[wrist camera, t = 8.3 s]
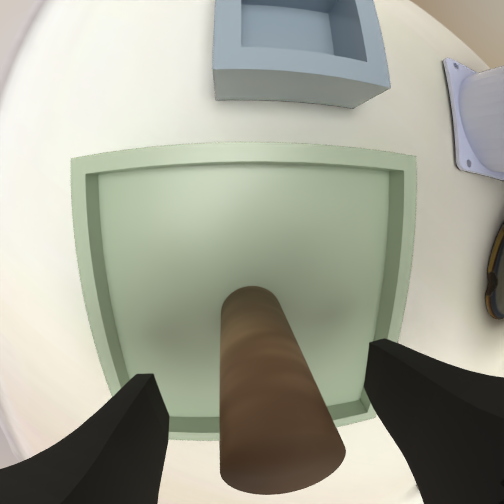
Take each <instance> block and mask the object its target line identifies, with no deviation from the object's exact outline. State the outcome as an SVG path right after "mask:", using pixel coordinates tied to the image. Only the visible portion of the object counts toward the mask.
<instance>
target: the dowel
mask: <svg viewBox="0 0 504 504" xmlns="http://www.w3.org/2000/svg"><path fill="white" fill-rule="evenodd" d="M219 429H220V474H221V477H222V479H223V480H224V481H225V482H226V483H227V484H228V485H229V486H231V487H233V488H235V489H237V490H240V491H243V492H247V493H252V494H262V495H272V494H283V493H288V492H293V491H297V490H301V489H304V488H307V487H309V486H311V485H314V484H316V483H318V482H320V481H322V480H323V479H325V478H326V477H328V476H329V475H331V474H332V473H333V472H334V471H335V470H336V469H337V468H338V467H339V466H340V465H341V463H342V462H343V460H344V457H345V453H346V450H345V446H344V444H343V441H342V439H341V437H340V435H339V433H338V430H337V428H336V426H335V424H334V422H333V419H332V417H331V415H330V413H329V411H328V408H327V406H326V404H325V402H324V399H323V397H322V395H321V393H320V391H319V388H318V386H317V384H316V382H315V380H314V377H313V375H312V373H311V371H310V369H309V366H308V364H307V362H306V360H305V358H304V356H303V353H302V351H301V349H300V347H299V345H298V342H297V340H296V338H295V336H294V334H293V331H292V329H291V327H290V325H289V323H288V320H287V318H286V316H285V314H284V312H283V310H282V307H281V305H280V303H279V301H278V299H277V298H276V296H275V295H274V294H273V293H272V292H270V291H269V290H267V289H265V288H262V287H258V286H246V287H242V288H239V289H237V290H235V291H234V292H232V293H231V294H230V295H229V296H228V297H227V298H226V300H225V301H224V303H223V305H222V309H221V327H220V392H219Z"/></svg>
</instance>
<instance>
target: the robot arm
mask: <svg viewBox="0 0 504 504" xmlns="http://www.w3.org/2000/svg"><path fill="white" fill-rule="evenodd" d="M443 62H444V67H445V72H446V77H447V82H448V88H449V93H450V100H451V107H452V114H453V123H454V133H455V147H456V163H457V166H458V168H459V169H460V170H464V171H468V172H472V173H476V174H480V175H484V176H488V177H492V178H496V179H499V180H503V181H504V66H501V67H497V68H494V69H490V70H487V71H484V72H480V73H477V72H475V71H473V70H471V69H470V68H468V67H466V66H464V65H462V64H460V63H458V62H456V61H454V60H452V59H450V58H446V59H444V61H443ZM364 389H365V391H366V394H367V396H368V398H369V400H370V402H371V404H372V407H373V409H374V410H375V412H376V413H377V415H378V417H379V418H380V420H381V421H382V423H383V424H384V426H385V427H386V429H387V430H388V432H389V433H390V435H391V437H392V438H393V440H394V441H395V443H396V444H397V446H398V447H399V449H400V450H401V452H402V454H403V455H404V457H405V459H406V461H407V463H408V465H409V467H410V470H411V472H412V474H413V476H414V478H415V481H416V483H417V486H418V488H419V491H420V494H421V496H422V499H423V502H424V504H504V378H503V377H496V376H490V375H485V374H481V373H476V372H472V371H468V370H465V369H462V368H459V367H456V366H453V365H450V364H447V363H444V362H441V361H439V360H436V359H434V358H431V357H429V356H426V355H424V354H422V353H419V352H417V351H415V350H412V349H410V348H408V347H405V346H403V345H401V344H398V343H396V342H394V341H391V340H388V339H385V338H383V339H380V340H376V341H372V342H369V350H368V358H367V366H366V374H365V381H364ZM169 419H170V416H169V413H168V411H167V408H166V406H165V403H164V401H163V398H162V395H161V393H160V390H159V387H158V385H157V382H156V379H155V376H154V373H147V374H136V375H135V376H134V377H132V378H131V379H130V380H129V381H128V382H127V383H126V384H125V385H124V386H123V387H122V388H121V389H120V390H119V391H118V392H117V393H116V394H115V395H114V396H113V397H112V398H111V399H110V400H109V401H108V402H107V403H106V404H105V405H104V406H103V407H101V408H100V409H99V410H98V411H97V412H96V413H95V414H94V415H93V416H91V417H90V418H89V419H88V420H87V421H86V422H84V423H83V424H82V425H81V426H80V427H79V428H77V429H76V430H75V431H73V432H72V433H71V434H69V435H68V436H67V437H65V438H64V439H62V440H61V441H59V442H58V443H56V444H55V445H53V446H51V447H50V448H48V449H46V450H44V451H42V452H40V453H38V454H37V455H35V456H33V457H31V458H29V459H27V460H24V461H22V462H19V463H17V464H15V465H12V466H9V467H6V468H3V469H0V504H157V502H158V493H159V487H160V482H161V476H162V471H163V466H164V461H165V455H166V450H167V445H168V437H169Z"/></svg>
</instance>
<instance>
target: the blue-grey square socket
mask: <svg viewBox="0 0 504 504" xmlns="http://www.w3.org/2000/svg"><path fill="white" fill-rule="evenodd" d="M213 78H214V88H215V98H216V100H273V101H291V102H304V103H315V104H324V105H333V106H340V107H347V108H355V107H357V106H359V105H360V104H362V103H364V102H366V101H368V100H369V99H371V98H373V97H375V96H377V95H379V94H381V93H383V92H384V91H386V90H388V89H390V88H391V85H390V77H389V71H388V65H387V59H386V53H385V48H384V43H383V38H382V33H381V29H380V25H379V21H378V17H377V13H376V9H375V5H374V2H373V0H216V2H215V20H214V43H213Z"/></svg>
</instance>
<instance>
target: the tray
mask: <svg viewBox="0 0 504 504" xmlns="http://www.w3.org/2000/svg"><path fill="white" fill-rule="evenodd" d="M416 192H417V169H416V156H412V155H406V154H400V153H393V152H387V151H379V150H372V149H363V148H354V147H345V146H333V145H321V144H305V143H281V142H218V143H195V144H179V145H166V146H155V147H145V148H136V149H128V150H120V151H113V152H106V153H100V154H94V155H88V156H82V157H77V158H71V199H72V216H73V228H74V238H75V246H76V254H77V261H78V268H79V274H80V280H81V286H82V291H83V296H84V301H85V306H86V311H87V315H88V319H89V323H90V327H91V331H92V335H93V339H94V343H95V346H96V350H97V353H98V357H99V360H100V363H101V366H102V369H103V372H104V375H105V378H106V381H107V384H108V387H109V390H110V393H111V395H112V397H113V396H114V395H115V394H116V393H117V392H118V391H119V390H120V389H121V388H122V387H123V386H124V385H125V384H126V383H127V382H128V381H129V380H130V379H131V378H132V377H134V376H135V375H136V374H147V373H154V376H155V379H156V382H157V385H158V387H159V390H160V393H161V395H162V398H163V401H164V403H165V406H166V408H167V411H168V413H169V416H170V419H169V437H168V439H171V440H195V441H220V429H219V392H220V327H221V309H222V305H223V303H224V301H225V300H226V298H227V297H228V296H229V295H230V294H231V293H232V292H234V291H235V290H237V289H239V288H242V287H246V286H258V287H262V288H265V289H267V290H269V291H270V292H272V293H273V294H274V295H275V296H276V298H277V299H278V301H279V303H280V305H281V307H282V310H283V312H284V314H285V316H286V318H287V320H288V323H289V325H290V327H291V329H292V331H293V334H294V336H295V338H296V340H297V342H298V345H299V347H300V349H301V351H302V353H303V356H304V358H305V360H306V362H307V364H308V366H309V369H310V371H311V373H312V375H313V377H314V380H315V382H316V384H317V386H318V388H319V391H320V393H321V395H322V397H323V399H324V402H325V404H326V406H327V408H328V411H329V413H330V415H331V417H332V419H333V422H334V424H335V426H336V427H340V426H344V425H349V424H353V423H357V422H361V421H365V420H369V419H372V418H375V417H376V414H377V413H376V412H375V410H374V409H373V407H372V404H371V402H370V400H369V398H368V396H367V394H366V391H365V389H364V381H365V374H366V366H367V358H368V350H369V342H372V341H376V340H380V339H383V338H385V339H388V340H391V341H394V342H396V343H398V339H399V335H400V330H401V325H402V320H403V315H404V310H405V305H406V299H407V293H408V287H409V280H410V272H411V265H412V256H413V246H414V234H415V219H416Z"/></svg>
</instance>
